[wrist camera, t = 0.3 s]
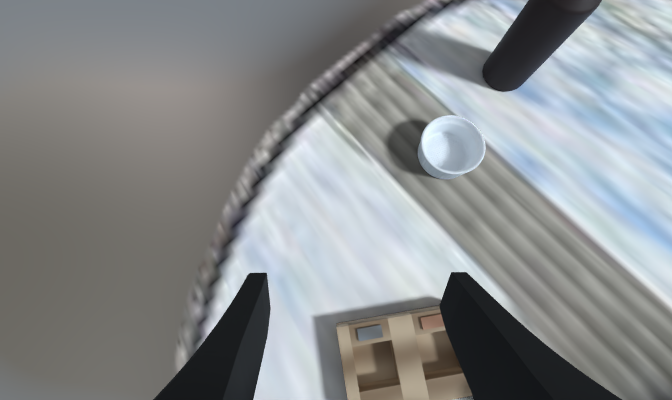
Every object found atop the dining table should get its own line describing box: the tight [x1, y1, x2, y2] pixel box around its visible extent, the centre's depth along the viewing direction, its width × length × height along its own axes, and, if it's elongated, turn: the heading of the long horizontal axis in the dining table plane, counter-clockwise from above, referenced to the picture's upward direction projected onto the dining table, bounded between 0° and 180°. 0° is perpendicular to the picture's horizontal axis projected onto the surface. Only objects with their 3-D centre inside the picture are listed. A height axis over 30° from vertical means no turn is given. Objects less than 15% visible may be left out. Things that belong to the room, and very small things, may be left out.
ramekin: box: [418, 115, 485, 179], centre depth 43 cm, size 9×9×4 cm
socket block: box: [336, 305, 473, 400], centre depth 37 cm, size 10×16×3 cm, turn 100°
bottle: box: [483, 0, 602, 91], centre depth 39 cm, size 7×7×20 cm
